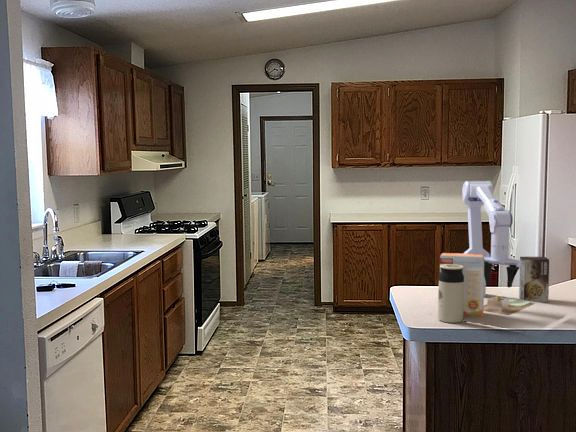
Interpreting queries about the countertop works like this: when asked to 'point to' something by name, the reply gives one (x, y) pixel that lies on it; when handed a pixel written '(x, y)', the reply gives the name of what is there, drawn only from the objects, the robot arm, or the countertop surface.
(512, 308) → the board
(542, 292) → the coffee box
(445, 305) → the travel mug
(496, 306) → the white square frame
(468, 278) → the cracker box
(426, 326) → the countertop surface
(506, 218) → the robot arm
